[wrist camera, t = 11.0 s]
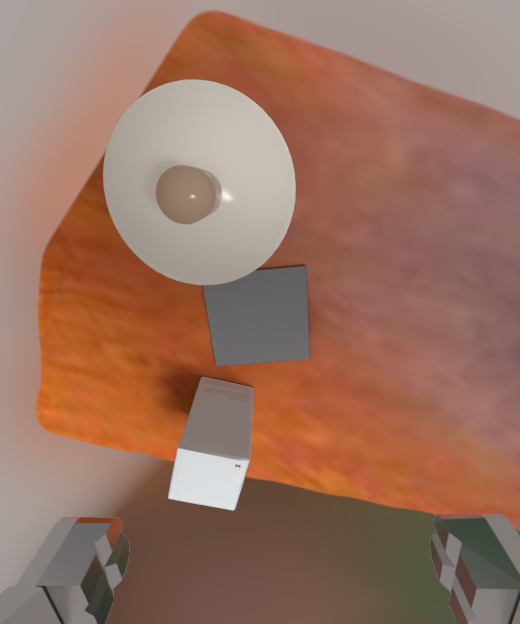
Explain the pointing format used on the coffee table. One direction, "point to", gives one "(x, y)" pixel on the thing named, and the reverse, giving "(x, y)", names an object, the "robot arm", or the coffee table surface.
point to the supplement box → (214, 445)
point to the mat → (260, 317)
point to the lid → (199, 182)
